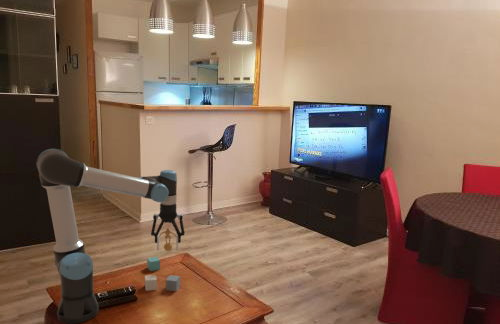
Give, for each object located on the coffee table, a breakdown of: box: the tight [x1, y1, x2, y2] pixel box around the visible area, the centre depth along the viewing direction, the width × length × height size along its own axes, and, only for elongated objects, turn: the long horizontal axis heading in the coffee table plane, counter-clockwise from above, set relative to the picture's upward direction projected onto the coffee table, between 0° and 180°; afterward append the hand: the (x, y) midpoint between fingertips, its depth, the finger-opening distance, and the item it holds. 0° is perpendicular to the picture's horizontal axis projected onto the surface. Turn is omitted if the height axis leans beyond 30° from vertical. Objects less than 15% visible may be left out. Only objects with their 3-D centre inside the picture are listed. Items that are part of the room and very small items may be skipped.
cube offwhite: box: [144, 274, 158, 292], centre depth 181 cm, size 5×5×5 cm
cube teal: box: [146, 256, 161, 272], centre depth 201 cm, size 5×5×5 cm
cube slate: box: [165, 274, 181, 292], centre depth 182 cm, size 5×5×5 cm
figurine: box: [159, 227, 177, 252], centre depth 189 cm, size 8×6×12 cm
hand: (167, 248), depth 190 cm, fingers closed on figurine, 8 cm apart
